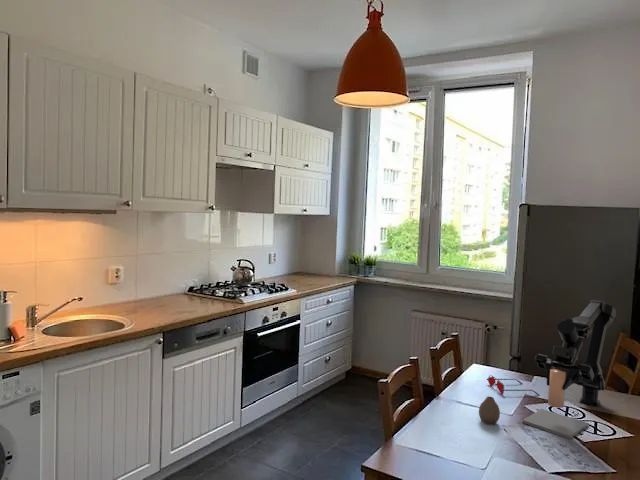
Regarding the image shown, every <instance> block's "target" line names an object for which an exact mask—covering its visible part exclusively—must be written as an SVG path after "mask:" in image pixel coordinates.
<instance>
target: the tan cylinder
mask: <svg viewBox="0 0 640 480" xmlns="http://www.w3.org/2000/svg"><path fill="white" fill-rule="evenodd" d="M566 379H567V370H565V369H561V368H553V369H550V380H549V386H548V397H547V398H548V399H547V405H549V406H550V407H552V408H558V409H559V408H560V409H563V408H564V405H565V395H566V394H565V393H566V389H565V390H563V385H564V383H565V381H566Z"/></svg>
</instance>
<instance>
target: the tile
mask: <svg viewBox="0 0 640 480" xmlns="http://www.w3.org/2000/svg"><path fill="white" fill-rule="evenodd" d="M521 423H522V424H525V425H528V426H531V427H534V428H536V429H540V430H542V429H543V431H545V432H549V433H552V434H554V435H558V436H560V437H563V438H567V439H569V440H571V439H573V438H574V437H575V436H577V435H578V434H579V433H581V432H582V431H583V430H585V429H586V428H587V427H589V423H588V422H586V421H584V420H579V419H577V418H573V417H570V416H566V415H562V414H561V413H558V412H554V411H550V410H547V409H543V408H541V409H538V410H537V411H536V412H534V413H532V414H530V415H529V416H527V417H526V418H523V419H522V422H521Z"/></svg>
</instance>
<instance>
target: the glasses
mask: <svg viewBox="0 0 640 480" xmlns="http://www.w3.org/2000/svg"><path fill="white" fill-rule="evenodd" d="M503 380H504V381H508V380H510V381H511V380H512V381H517V382H518V383H519V384H521V385H523V383H522V382H521V381H520V380H518V379H516V378H496V377H495V376H493V375H492V374H490V375H488V377H487V378H486V381H488V383H489V387H491V388H493V386H495V387H496V389H497V390H498V392H500V394H501V395H504V392H513V391H514V392H516V391H517V392H520V391H522V392H523V391H525V392H526V391H528V392H529V391H530V392H533V393H535V395H537V396H540V393H538V392H536V390H533V389H505V385H504V383H503V382H502V381H503Z"/></svg>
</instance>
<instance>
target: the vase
mask: <svg viewBox="0 0 640 480" xmlns="http://www.w3.org/2000/svg"><path fill="white" fill-rule="evenodd" d="M478 417H479V418H480V421H482V423H484V425H485V424H486V425H489V426H493V425H495V424H497V422H498V421H499V419H500V417H501V410H500V407H499V405H498V404H497V402H496V401H495V398H494V397H493V396H486V397H485V398H484V400H483V401H482V402H481V403H480V405H479V407H478Z"/></svg>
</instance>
